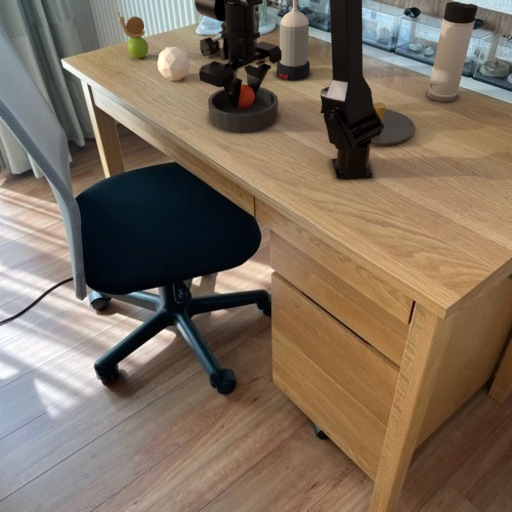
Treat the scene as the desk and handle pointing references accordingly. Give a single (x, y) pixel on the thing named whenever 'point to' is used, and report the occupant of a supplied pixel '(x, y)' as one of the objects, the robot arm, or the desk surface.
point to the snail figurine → (135, 36)
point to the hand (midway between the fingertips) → (243, 103)
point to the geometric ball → (173, 63)
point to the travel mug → (451, 51)
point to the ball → (246, 97)
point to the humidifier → (294, 46)
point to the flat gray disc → (392, 126)
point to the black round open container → (243, 112)
